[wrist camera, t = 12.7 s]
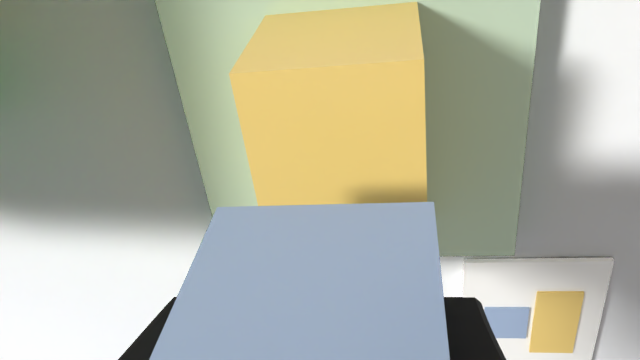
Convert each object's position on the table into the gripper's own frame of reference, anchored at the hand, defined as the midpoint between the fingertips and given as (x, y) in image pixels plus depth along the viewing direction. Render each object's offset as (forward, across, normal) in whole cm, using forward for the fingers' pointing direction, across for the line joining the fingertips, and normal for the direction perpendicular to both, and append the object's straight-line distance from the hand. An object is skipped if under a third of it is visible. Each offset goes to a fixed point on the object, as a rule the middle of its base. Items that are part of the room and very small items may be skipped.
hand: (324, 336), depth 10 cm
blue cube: (+2, 0, 0) cm, 2 cm away
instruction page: (+9, -6, +9) cm, 14 cm away
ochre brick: (+8, 0, 0) cm, 8 cm away
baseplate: (+9, 0, 0) cm, 9 cm away
